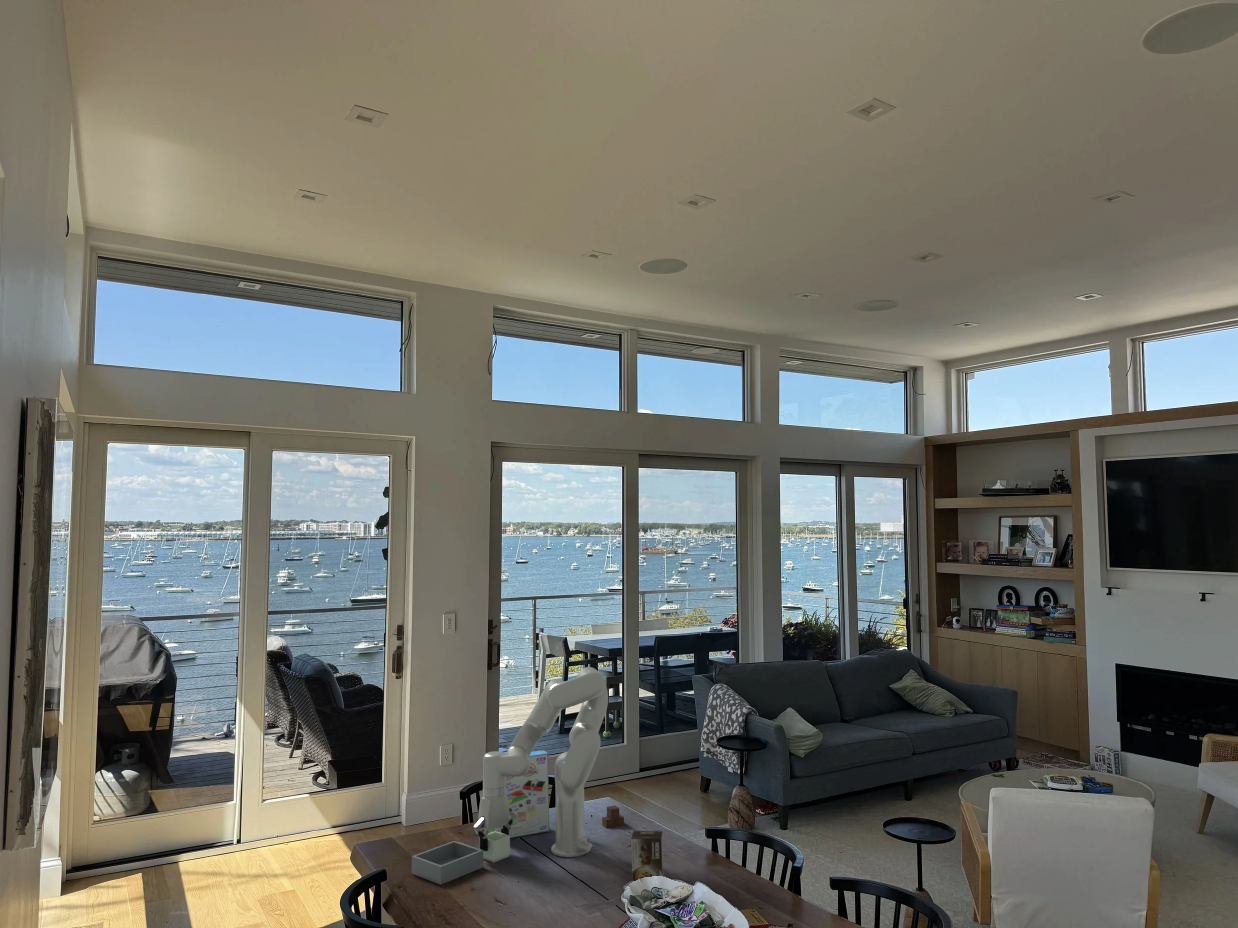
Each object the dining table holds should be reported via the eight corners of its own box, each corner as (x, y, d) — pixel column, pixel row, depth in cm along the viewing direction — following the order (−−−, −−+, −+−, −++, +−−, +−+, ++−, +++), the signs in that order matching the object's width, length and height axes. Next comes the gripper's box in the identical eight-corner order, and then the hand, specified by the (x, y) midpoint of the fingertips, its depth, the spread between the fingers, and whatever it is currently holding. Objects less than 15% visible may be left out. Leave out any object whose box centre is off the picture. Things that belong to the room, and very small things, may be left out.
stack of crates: (604, 837, 292) (604, 817, 292) (588, 824, 305) (587, 805, 306) (643, 831, 298) (643, 811, 299) (625, 818, 312) (625, 799, 312)
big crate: (483, 868, 265) (483, 850, 266) (440, 885, 252) (440, 866, 253) (454, 857, 274) (454, 840, 275) (411, 874, 261) (411, 856, 261)
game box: (544, 827, 302) (544, 749, 304) (550, 831, 296) (549, 752, 299) (488, 836, 293) (488, 756, 296) (492, 841, 288) (492, 759, 291)
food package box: (664, 886, 248) (663, 830, 250) (663, 896, 242) (662, 838, 243) (633, 886, 249) (632, 829, 251) (631, 895, 243) (631, 837, 244)
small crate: (509, 855, 274) (509, 835, 275) (493, 862, 269) (493, 841, 269) (495, 851, 279) (495, 830, 279) (479, 857, 273) (479, 836, 274)
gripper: (506, 783, 285) (506, 835, 283) (466, 795, 271) (466, 851, 270) (521, 787, 280) (521, 840, 278) (482, 799, 266) (482, 856, 265)
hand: (494, 845), depth 274 cm, fingers open, 8 cm apart
